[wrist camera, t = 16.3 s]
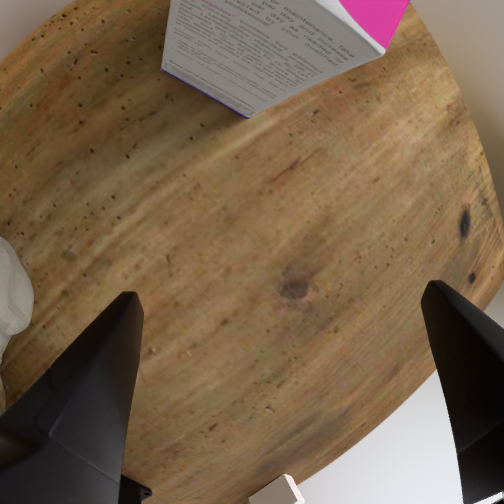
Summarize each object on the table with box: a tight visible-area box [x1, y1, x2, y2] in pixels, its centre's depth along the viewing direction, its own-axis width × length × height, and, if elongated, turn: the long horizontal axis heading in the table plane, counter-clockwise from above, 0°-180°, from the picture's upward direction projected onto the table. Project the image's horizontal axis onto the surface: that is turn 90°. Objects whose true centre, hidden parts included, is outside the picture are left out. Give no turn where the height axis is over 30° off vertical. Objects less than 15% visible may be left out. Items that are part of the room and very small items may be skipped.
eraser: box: [248, 474, 305, 504], centre depth 23 cm, size 1×5×4 cm, turn 134°
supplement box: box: [160, 0, 410, 119], centre depth 10 cm, size 6×6×12 cm
